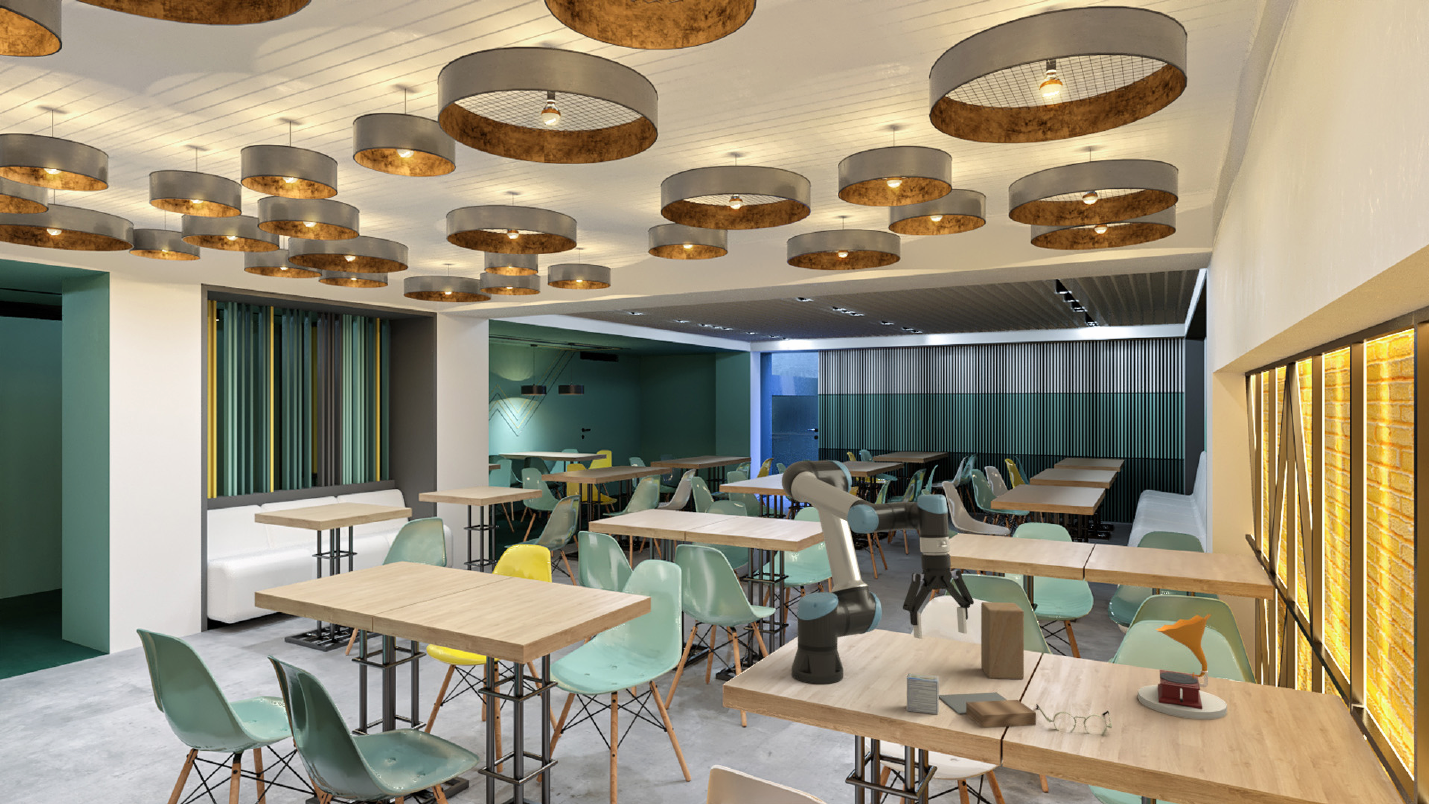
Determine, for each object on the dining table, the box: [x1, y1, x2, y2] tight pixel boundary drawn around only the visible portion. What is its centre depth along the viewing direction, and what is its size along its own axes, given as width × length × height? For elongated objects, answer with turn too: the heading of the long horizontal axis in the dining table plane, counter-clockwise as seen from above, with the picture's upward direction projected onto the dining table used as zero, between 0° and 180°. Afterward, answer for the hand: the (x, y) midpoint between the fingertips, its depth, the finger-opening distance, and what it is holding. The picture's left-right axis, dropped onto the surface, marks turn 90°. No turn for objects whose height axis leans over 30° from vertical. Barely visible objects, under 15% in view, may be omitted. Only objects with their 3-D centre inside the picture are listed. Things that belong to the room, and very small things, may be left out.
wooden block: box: [980, 601, 1025, 680], centre depth 239 cm, size 10×10×20 cm
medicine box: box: [906, 672, 940, 715], centre depth 209 cm, size 8×4×9 cm, turn 71°
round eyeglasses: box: [1035, 703, 1113, 736], centre depth 202 cm, size 17×15×5 cm
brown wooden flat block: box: [965, 699, 1037, 728], centre depth 203 cm, size 14×9×3 cm, turn 98°
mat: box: [939, 691, 1008, 715], centre depth 214 cm, size 17×13×1 cm
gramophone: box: [1137, 613, 1228, 720], centre depth 214 cm, size 20×20×25 cm
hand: (940, 635), depth 211 cm, fingers open, 13 cm apart
